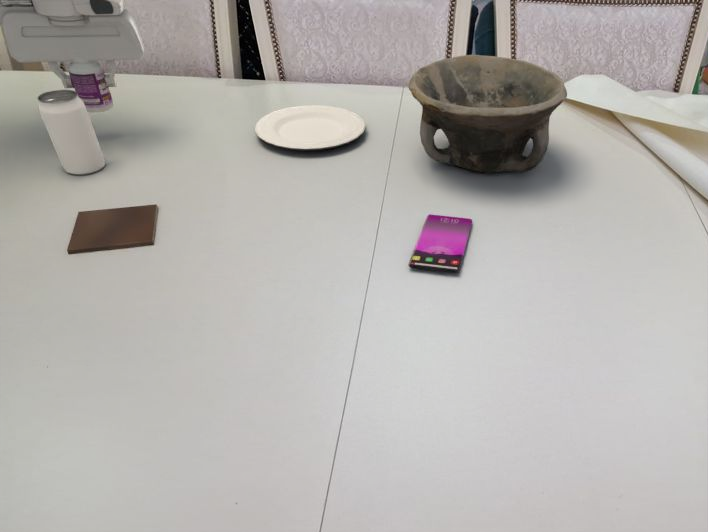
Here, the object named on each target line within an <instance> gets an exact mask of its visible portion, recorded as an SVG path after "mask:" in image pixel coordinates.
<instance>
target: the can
mask: <svg viewBox="0 0 708 532" xmlns="http://www.w3.org/2000/svg"><path fill="white" fill-rule="evenodd" d="M37 100H38V111H39V114H40V116H41V119H42V121H43V123H44V126H45V129H46V130H47V131H46V132H47V133H48V135H49V138H50V140H51V143H52V145H53V148H54V150H55V153H56V154H57V157H58V159H59V162H60V164H61V166H62V169H63V171H64V172H66V173H67V174H69V175H73V176H87V175H91V174H96V173H98V172H100V171H102V170H103V169H104V168H105V165H106V160H105V159H106V158H105V156H104V154H103V151H102V148H101V145H100V142H99V139H98V137H97V135H96V132H95V129H94V126H93V124H92V121H91V118H90V115H89V112H87V110H86V107H85V104H84V102H83V101H82V100H81V99H80V98H79V97H78V93H77V92H76V91H75V90H72V89H55V90H54V89H53V90H49V91H46V92H42V93H41V94H39V95H38V96H37Z"/></svg>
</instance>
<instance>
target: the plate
mask: <svg viewBox="0 0 708 532" xmlns="http://www.w3.org/2000/svg"><path fill="white" fill-rule="evenodd" d="M365 130H366V122H365V120H364V119H363V118H362V117H361V116H360V115H358V114H357V113H356V112H353V111H351V110H348V109H345V108H342V107H336V106H330V105H319V104H318V105H317V104H316V105H314V104H311V105H310V104H309V105H298V106H291V107H285V108H281V109H278V110H275V111H272V112H269V113H268V114H266V115H264V116H263V117H261V118H259V120H258V121H257V122H256V124H255V125H254V133H255V134H256V137H258V138H259V139H260V140H261V141H263V142H265V143H266V144H268V145H272V146H274V147H277V148H280V149H288V150H293V151H294V150H296V151H322V150H329V149H332V148H333V149H334V148H337V147H341V146H344V145H348V144H351V143H352V142H354V141H356V140H357V139H358V138H360V137H361V136H362V135H363V134H364V133H365Z"/></svg>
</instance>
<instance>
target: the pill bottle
mask: <svg viewBox="0 0 708 532" xmlns="http://www.w3.org/2000/svg"><path fill="white" fill-rule="evenodd" d="M67 71H68V75H70V77H71V80H72V83H73V86H74V88H73V89H74V91H75V92H77V93H78V97H79V98H80V99H81V100H82V101H83V102H84V104H85V107H86V110H87V112H88V113H101V112H103V113H104V112H106V111H109V110H111V109H113V107H114V99H113V97H112V93H111V90H110V87H107V85H106V83H107V82H106V81H105V79H104V76H105V74H106V73H105V70H104V67H103V65H102V64H101V63H100V61H87V60H86V59H85V58H84V57H83V55H82V54H74V61H70V63H68V65H67Z"/></svg>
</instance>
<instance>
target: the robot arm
mask: <svg viewBox="0 0 708 532" xmlns="http://www.w3.org/2000/svg"><path fill="white" fill-rule="evenodd" d="M0 26H1V27H2V28H3V34H4V40H5V42H6V46H7V49H8V52H9V55H10V57H11V58H12V59H13V60H15V61H16V62H18V63H47V65H48V67H49V69H50V70H51V72H53V73H54V74H55V76H57V77H58V78H59V79H60V80H61V83H62V85H63V88H64V89H75V88H74V86H73V83H72V80H71V77H70V74H67V73H66V72H65V71H64V70H63V69H62V68H61V67H60V66H61V64H62V63H65V62H72V61H74V54H82V55H83V57H84V58H85V59H86V60H87V61H97V62H106V64H107V67H108V68H110V72H109V73H104V74H105V76H104V79H105V81H106V82H107V83H106V85H107V87H109V88H117V86H118V82H117V79H116V72H117V68H118V64H119V62H118V61H141V60H142V59H143V58H144V57H145V55H146V46H145V42H144V38H143V36H142V33H141V30H140V28H139V25H138V23H137V21H136V19H135V17H134V16H133V13H131V12H130V11H129V10H127V9H126V1H125V0H0Z"/></svg>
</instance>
